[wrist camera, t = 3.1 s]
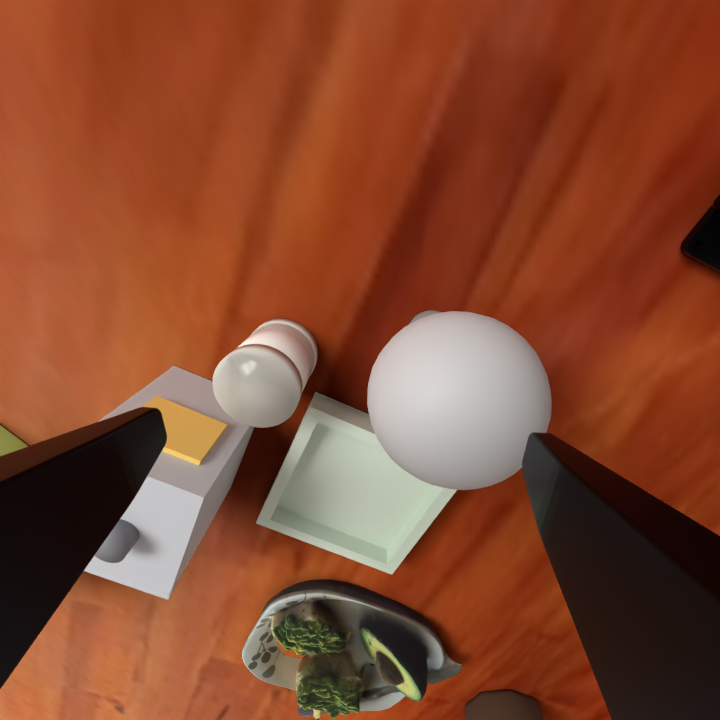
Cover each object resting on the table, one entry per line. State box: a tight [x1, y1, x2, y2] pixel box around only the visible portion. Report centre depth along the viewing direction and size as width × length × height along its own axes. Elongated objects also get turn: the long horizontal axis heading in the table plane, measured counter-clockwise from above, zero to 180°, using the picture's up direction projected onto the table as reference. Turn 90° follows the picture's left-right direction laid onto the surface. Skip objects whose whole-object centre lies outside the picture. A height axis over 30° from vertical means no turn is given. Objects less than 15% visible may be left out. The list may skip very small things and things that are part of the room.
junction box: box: [84, 366, 254, 600], centre depth 19 cm, size 6×9×9 cm
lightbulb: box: [367, 310, 552, 490], centre depth 14 cm, size 6×6×11 cm
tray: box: [256, 392, 457, 574], centre depth 23 cm, size 11×11×2 cm
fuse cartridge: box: [213, 318, 318, 428], centre depth 18 cm, size 4×4×5 cm
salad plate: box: [242, 580, 462, 720], centre depth 31 cm, size 19×18×5 cm
